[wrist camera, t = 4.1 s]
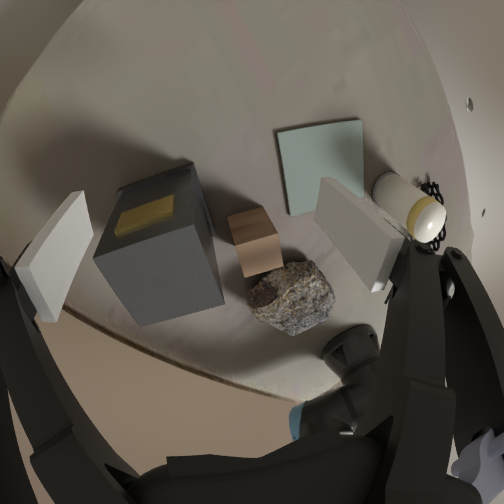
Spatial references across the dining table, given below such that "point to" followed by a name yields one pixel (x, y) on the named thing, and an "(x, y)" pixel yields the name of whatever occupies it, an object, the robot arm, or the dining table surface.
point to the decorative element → (425, 190)
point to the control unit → (161, 248)
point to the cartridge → (409, 206)
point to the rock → (292, 297)
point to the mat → (321, 161)
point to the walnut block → (255, 241)
